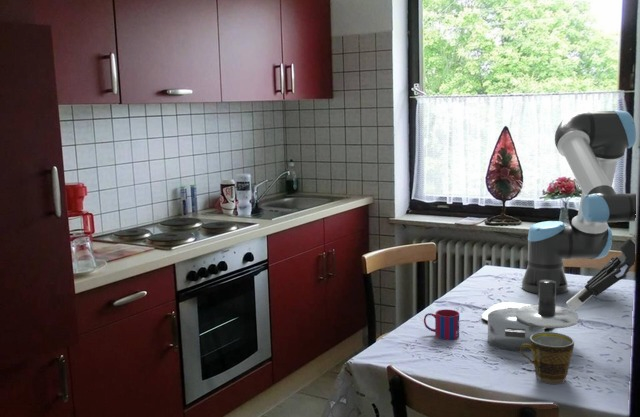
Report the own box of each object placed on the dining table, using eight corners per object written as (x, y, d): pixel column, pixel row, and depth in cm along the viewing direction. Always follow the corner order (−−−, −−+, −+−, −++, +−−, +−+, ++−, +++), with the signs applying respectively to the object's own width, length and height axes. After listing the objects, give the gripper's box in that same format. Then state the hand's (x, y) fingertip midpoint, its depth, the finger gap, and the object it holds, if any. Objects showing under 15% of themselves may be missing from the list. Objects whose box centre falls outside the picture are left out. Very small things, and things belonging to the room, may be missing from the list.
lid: (516, 307, 191) (517, 272, 190) (576, 310, 187) (577, 275, 185) (515, 325, 176) (516, 288, 175) (580, 330, 172) (581, 292, 170)
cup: (456, 341, 187) (456, 317, 185) (421, 337, 191) (421, 314, 189) (461, 333, 193) (461, 310, 191) (427, 329, 197) (427, 307, 195)
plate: (567, 315, 207) (567, 309, 207) (547, 336, 189) (547, 330, 189) (499, 304, 219) (499, 299, 219) (474, 323, 201) (474, 318, 201)
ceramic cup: (559, 368, 166) (561, 330, 164) (581, 385, 156) (582, 344, 155) (510, 373, 164) (511, 334, 163) (529, 390, 154) (530, 349, 153)
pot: (489, 327, 197) (490, 304, 196) (543, 331, 192) (543, 307, 191) (485, 352, 178) (485, 327, 177) (544, 357, 173) (545, 331, 172)
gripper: (626, 232, 178) (558, 289, 186) (634, 243, 166) (560, 303, 173) (647, 253, 177) (578, 309, 185) (656, 265, 165) (582, 324, 173)
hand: (570, 306), depth 179 cm, fingers closed
